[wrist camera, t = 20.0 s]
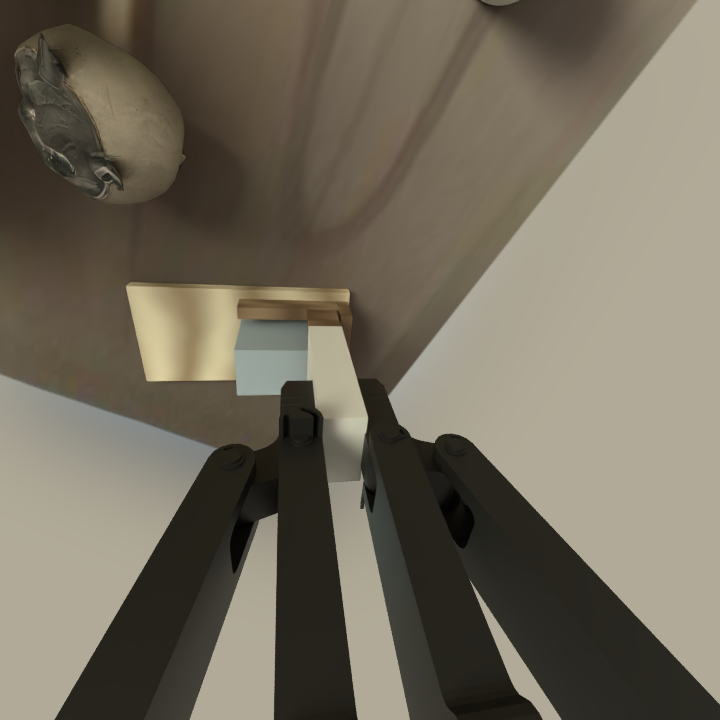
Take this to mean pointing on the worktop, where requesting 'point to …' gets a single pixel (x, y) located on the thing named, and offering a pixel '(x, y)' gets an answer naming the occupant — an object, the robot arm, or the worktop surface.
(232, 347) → the rail board
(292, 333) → the pale blue tall block
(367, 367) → the worktop surface
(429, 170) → the worktop surface
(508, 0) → the mug
